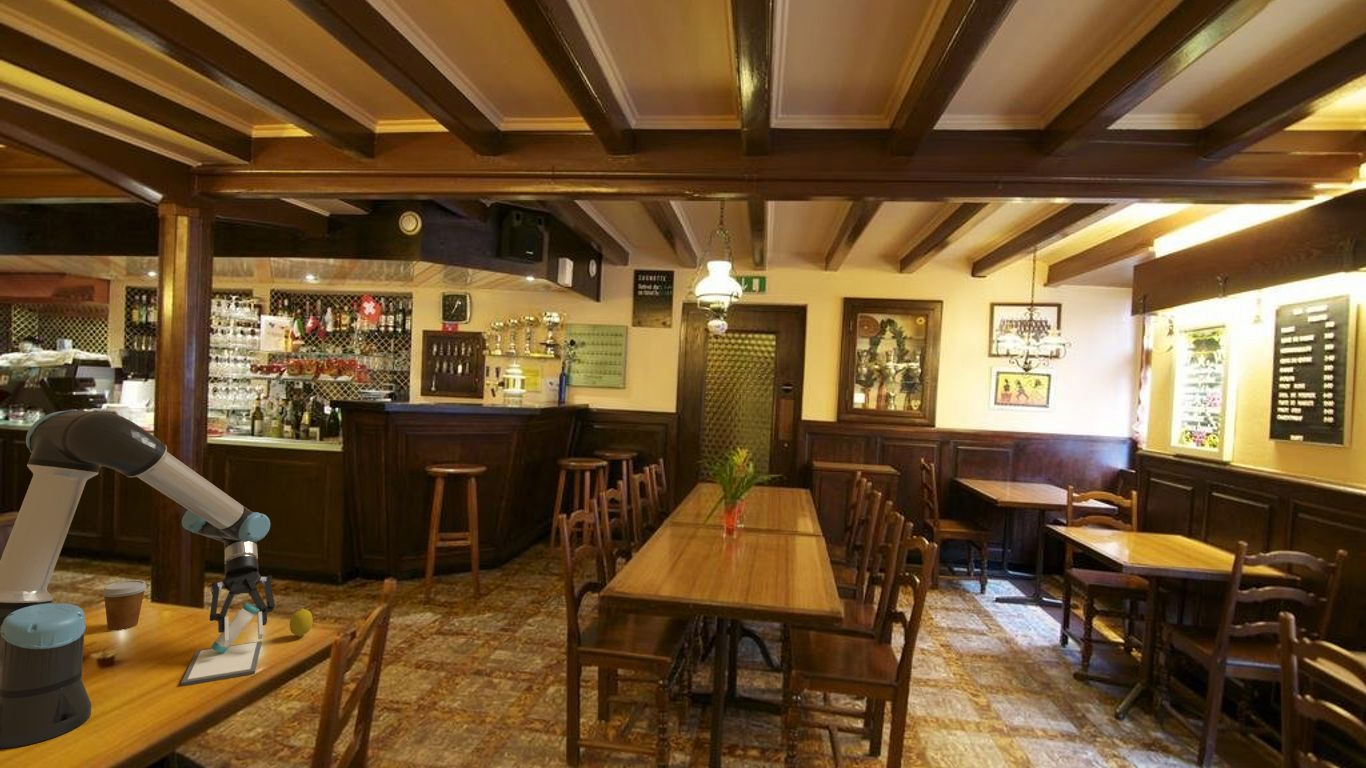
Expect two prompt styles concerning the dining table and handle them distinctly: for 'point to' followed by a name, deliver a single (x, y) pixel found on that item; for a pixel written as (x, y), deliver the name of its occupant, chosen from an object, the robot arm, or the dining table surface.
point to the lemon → (301, 622)
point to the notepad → (222, 663)
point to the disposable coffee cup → (123, 603)
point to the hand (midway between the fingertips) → (243, 639)
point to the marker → (236, 627)
